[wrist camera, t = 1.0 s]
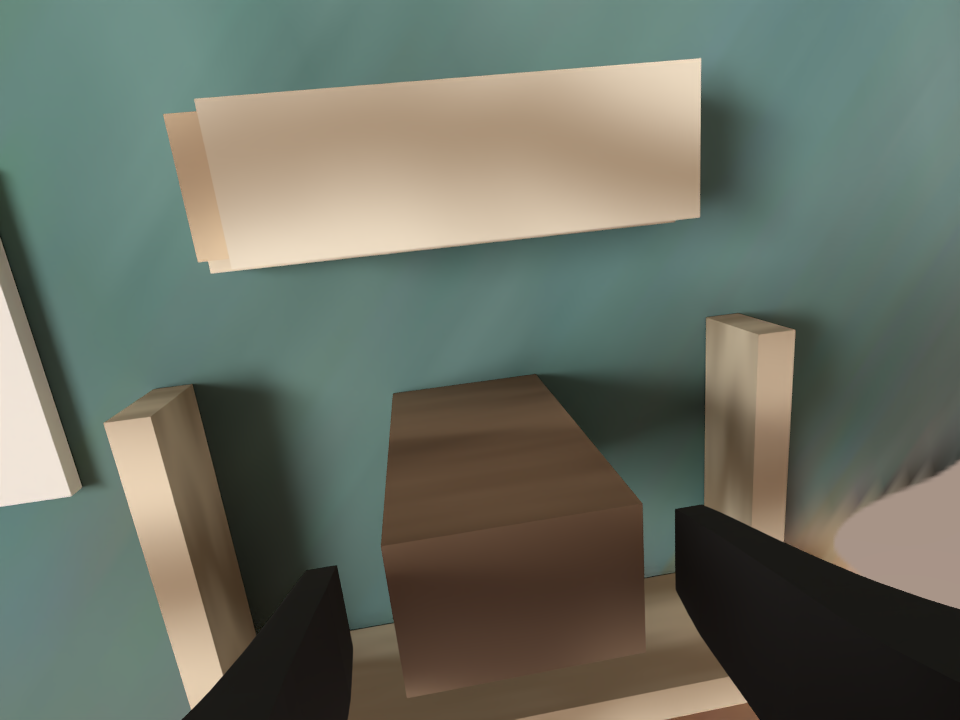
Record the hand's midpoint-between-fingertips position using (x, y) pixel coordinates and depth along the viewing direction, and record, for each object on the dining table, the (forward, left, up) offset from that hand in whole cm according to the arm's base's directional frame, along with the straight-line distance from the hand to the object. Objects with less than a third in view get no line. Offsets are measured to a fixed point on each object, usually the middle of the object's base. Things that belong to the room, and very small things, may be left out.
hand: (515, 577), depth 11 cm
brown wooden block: (0, 0, -8) cm, 8 cm away
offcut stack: (+8, 0, -8) cm, 12 cm away
